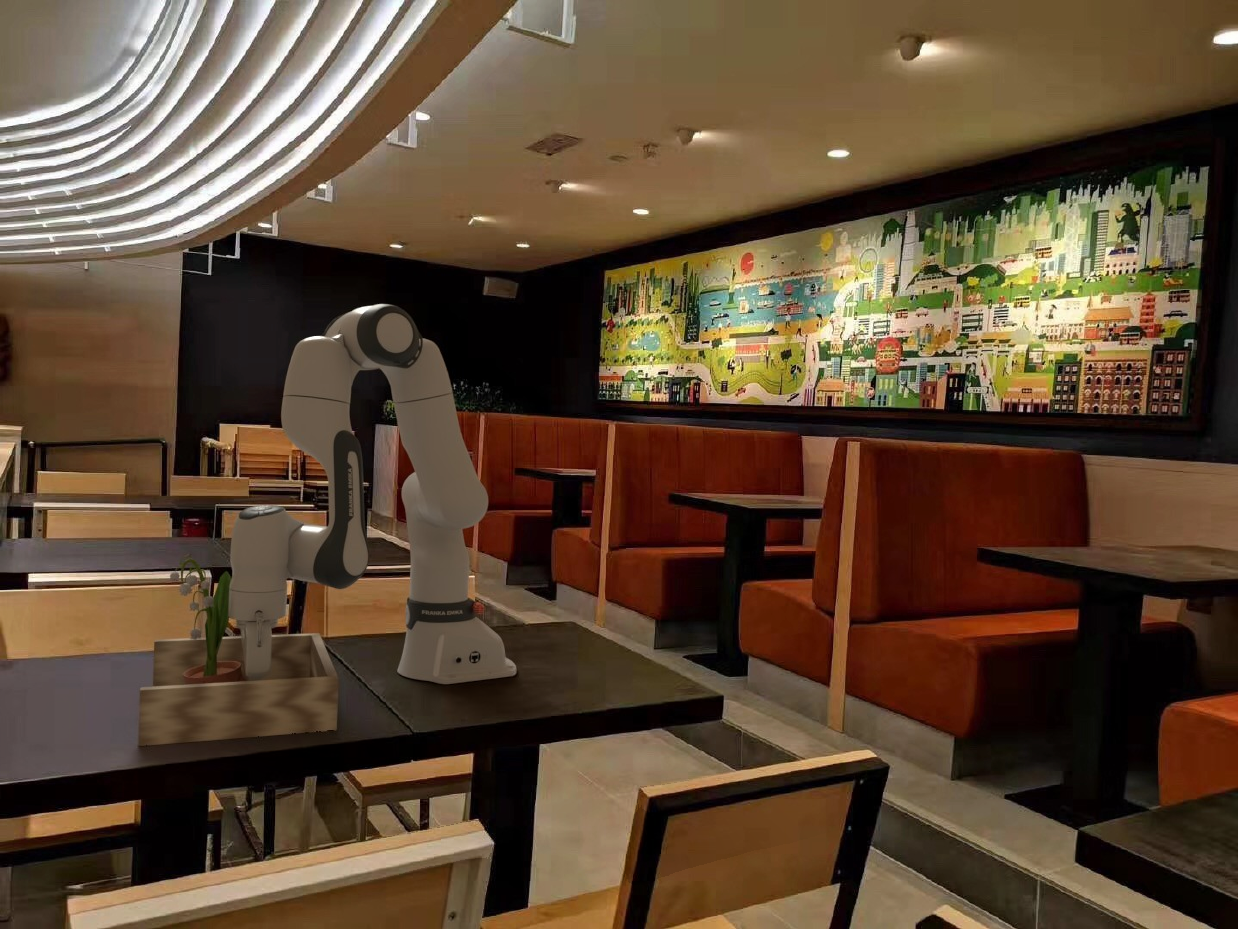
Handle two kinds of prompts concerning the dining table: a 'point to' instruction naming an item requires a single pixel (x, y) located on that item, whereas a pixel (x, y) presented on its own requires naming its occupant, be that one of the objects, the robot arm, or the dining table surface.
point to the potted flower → (209, 627)
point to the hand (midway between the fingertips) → (254, 689)
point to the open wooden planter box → (239, 693)
